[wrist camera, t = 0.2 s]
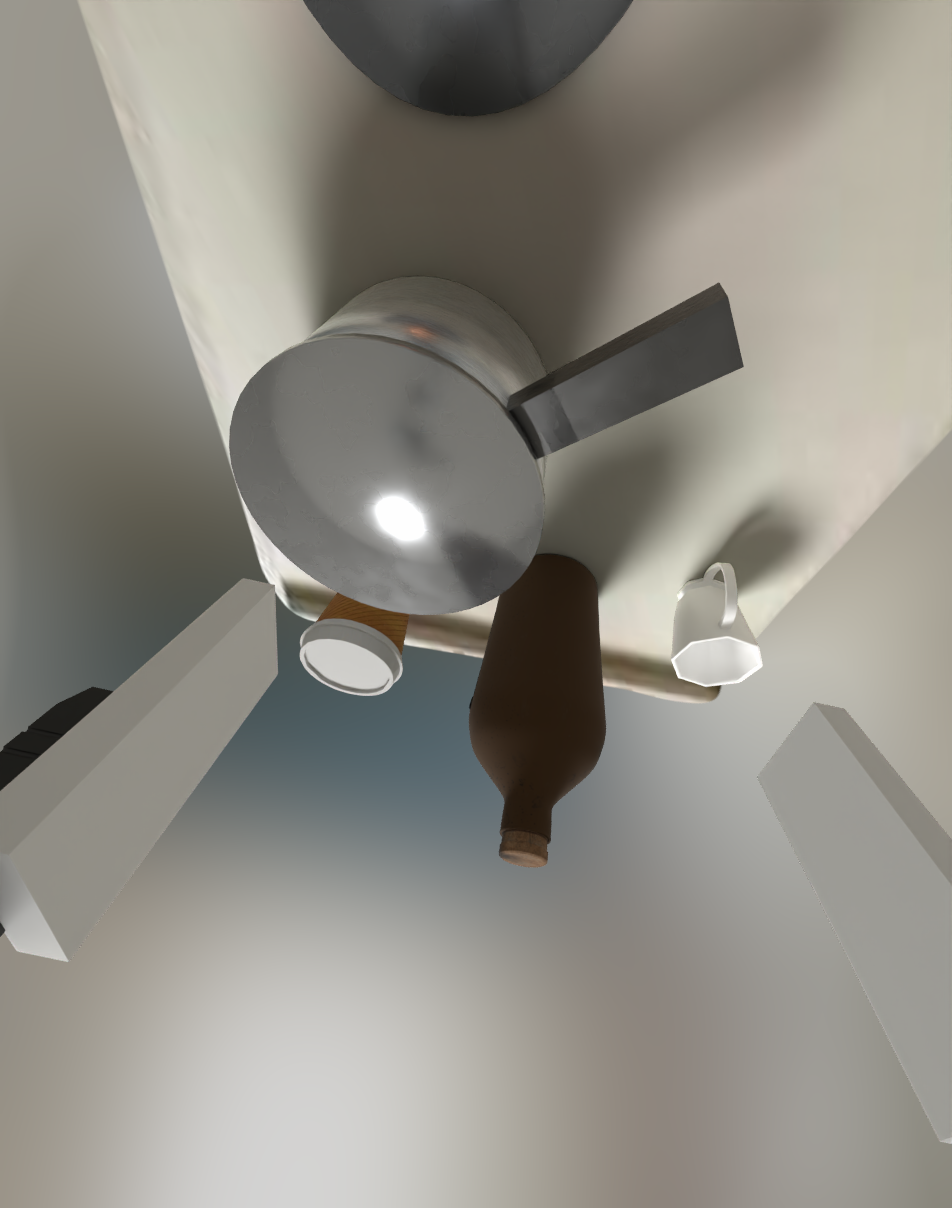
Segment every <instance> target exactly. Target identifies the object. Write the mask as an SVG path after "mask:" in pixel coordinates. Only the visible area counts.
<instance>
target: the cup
mask: <svg viewBox="0 0 952 1208" xmlns="http://www.w3.org/2000/svg"><path fill="white" fill-rule="evenodd" d="M719 570H722V572H723V577H724V582H721V581H718V580H715V579H714V576H715V575H716V573H717V572H718V571H719ZM677 594H678V598H679V601H678V602H677V607H676V611H675V616H674V626H673V642H672V655H671V660H672V663H673V665H674V668H675V671H676V673H677V676H678V678H681V679H684V680H687V681H690V682H693V683H696V684H699V685H702V686H705V687H707V686H715V685H724V684H731V683H739V682H741V681H743V680H744V679H746V678H747V677H748V676H750V675H751V674H753V673H754V672H756V671H757V670H758V669H760V668H761V667H763V664H762V659H761V654H760V649H759V646H758V644H757V642H756V640H755V638H754V636H753V634H752V632H751V630H750V628H749V626H748V624H747V622H746V620H745V618H744V616H743V614H742V612H741V610H740V608H739V606H738V605H737V600H738V592H737V584H736V577H735V573H734V569H733V567H732V566H731V564H730V563H715V564H713V565H712V566H710V567H709V568H708V569H707V571H706V572H705V574H704V577H703V578H701V579H696V580H692V581H688V582H687V583H686V584H685V585H684V586H683V587H682V588H681V589H680V590H679V592H678V593H677Z"/></svg>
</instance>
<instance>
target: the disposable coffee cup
mask: <svg viewBox="0 0 952 1208" xmlns="http://www.w3.org/2000/svg"><path fill="white" fill-rule="evenodd" d="M408 619H409V614H406V613H400V612H393V611H389V610H385V609H380V608H376V607H373V606H370V605H367V604H364V603H361V602H358V601H356V600H353V599H351V598H349V597H346V596H344V595H342V594H340V593H337V594H336V595H335V597H334V598H333V599H332V601H331V602H330V603H329V605H328V606H327V608H326V609H325V610H324V612H323V613H322V614H321V616H320V617H319V619H318V620H317V621H316V623H315V624H313V625H312V626H311V627H309V628H308V629H307V630H305V632H304V633H303V635H302V636H301V641H300V644H301V651H300V660H301V661H302V663H303V665H304V667H305V669H306V670H307V671H308V672H309V673H310V674H311V675H312V676H313V677H315V678H316V679H317V680H319V681H320V682H322V683H324V684H326V685H328V686H329V687H332V688H334V689H336V690H339V691H343V692H346V693H349V694H355V695H364V696H371V695H378V694H381V693H384V692H385V691H387V690H389V689H390V687H391V686H392V685H393V683H394V682H395V681H397V680H398V679H399V678H400V676H401V674H402V670H403V664H402V657H401V655H402V650H403V645H404V640H405V634H406V629H407V624H408Z"/></svg>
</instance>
